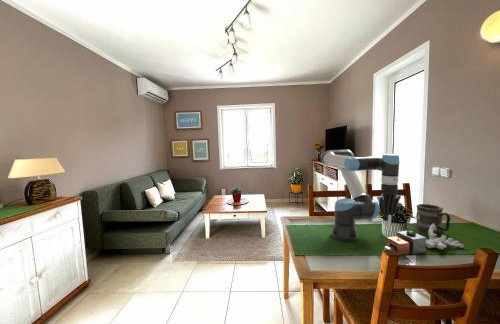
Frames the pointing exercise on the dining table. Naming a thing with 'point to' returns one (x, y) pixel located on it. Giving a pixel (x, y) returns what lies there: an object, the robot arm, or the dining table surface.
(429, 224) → the mug
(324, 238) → the dining table surface
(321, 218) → the dining table surface
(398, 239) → the red notched block
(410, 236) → the hitch
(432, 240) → the white irregular jagged piece
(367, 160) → the robot arm
